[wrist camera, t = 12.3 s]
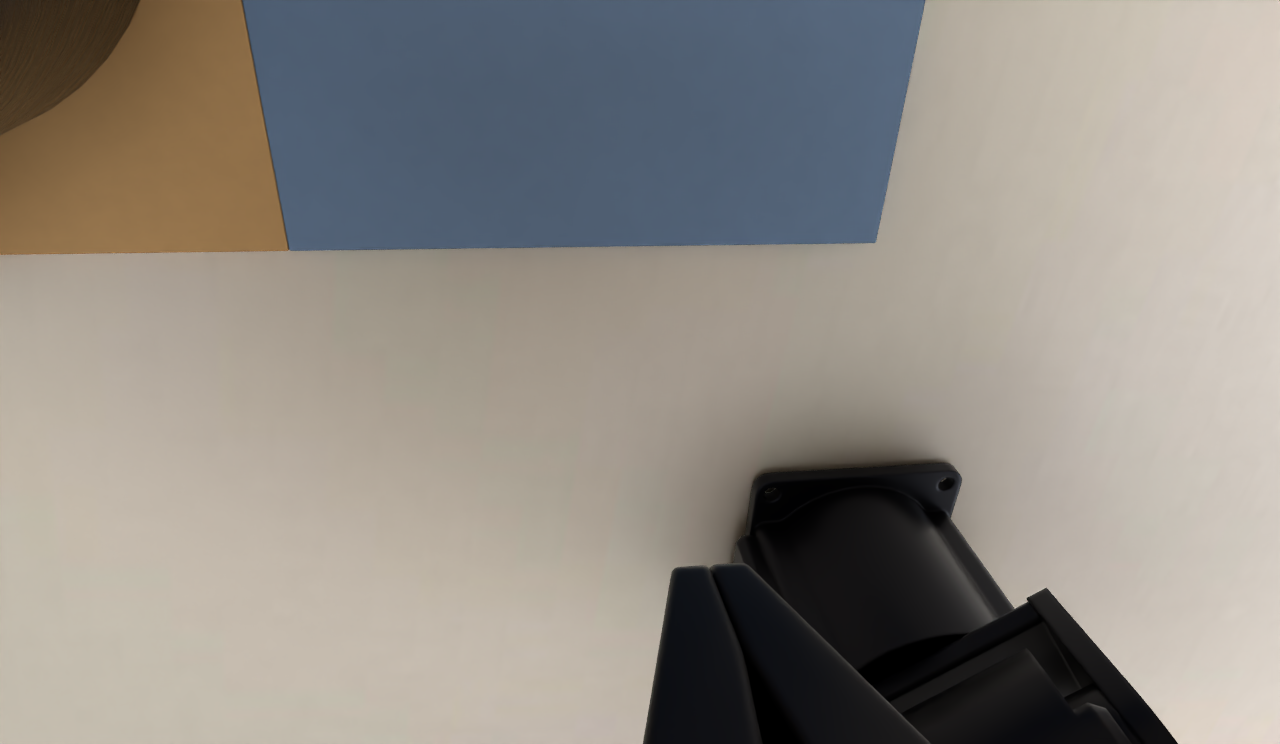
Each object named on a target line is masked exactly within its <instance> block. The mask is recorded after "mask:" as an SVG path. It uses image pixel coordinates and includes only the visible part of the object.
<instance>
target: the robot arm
mask: <svg viewBox="0 0 1280 744" xmlns="http://www.w3.org/2000/svg"><path fill="white" fill-rule="evenodd" d="M944 478H946V479H945V480H944V481H942V482H940V481H941V480H942V479H944ZM961 481H962V478H961V476H960V474H959V473H958V471H957V470H956V469H955V468H954V466H952V465H951V464H948V463H935V464H917V465H899V466H882V467H864V468H846V469H829V470H811V471H794V472H776V473H767V474H763V475H762V476H760V477H758V478H757V479H756V480H755V481H754V483H753V486H752V490H751V497H750V504H749V511H748V518H747V525H746V531H745V536H741V537H740V538H739V540H738V541H737V542H736V546H735V553H734V560H733V563H730V564H716V565H713V566H712V567H710V569H709V568H708V567H706V566H689V567H677V568H675V569H674V570H673V571H672V574H671V579H670V585H669V591H668V597H667V603H666V609H665V615H664V621H663V627H662V633H661V639H660V645H659V651H658V657H657V663H656V669H655V675H654V681H653V687H652V693H651V699H650V705H649V711H648V717H647V723H646V729H645V735H644V741H643V744H1178V743H1177V742H1176V740H1175V739H1174V738H1173V736H1172V735H1171V734H1170V732H1169V731H1168V730H1167V729H1166V727H1165V726H1164V725H1163V723H1162V722H1161V721H1160V720H1159V718H1158V717H1157V716H1156V715H1155V713H1154V712H1153V711H1152V710H1151V708H1150V707H1149V706H1148V705H1147V703H1146V702H1145V701H1144V700H1143V699H1142V698H1141V696H1140V695H1139V694H1138V693H1137V692H1136V690H1135V689H1134V688H1133V687H1132V686H1131V685H1130V683H1129V682H1128V681H1127V680H1126V679H1125V678H1124V677H1123V675H1122V674H1121V673H1120V672H1119V671H1118V670H1117V668H1116V667H1115V666H1114V665H1113V664H1112V663H1111V662H1110V660H1109V659H1108V658H1107V657H1106V656H1105V655H1104V654H1103V652H1102V651H1101V650H1100V649H1099V648H1098V647H1097V645H1096V644H1095V643H1094V642H1093V641H1092V640H1091V639H1090V637H1089V636H1088V635H1087V634H1086V633H1085V632H1084V630H1083V629H1082V628H1081V627H1080V626H1079V625H1078V624H1077V622H1076V621H1075V620H1074V619H1073V618H1072V617H1071V615H1070V614H1069V613H1068V612H1067V611H1066V610H1065V609H1064V607H1063V606H1062V605H1061V604H1060V603H1059V602H1058V601H1057V599H1056V598H1055V597H1054V596H1053V595H1052V594H1051V592H1050V591H1049V590H1048V589H1047V588H1045V589H1043V590H1041V591H1039V592H1037V593H1036V594H1034V595H1032V596H1030V597H1028V598H1027V600H1028V602H1027V603H1025V604H1023V605H1021V606H1019V607H1018V608H1016V609H1014V607H1013V606H1012V604H1011V603H1010V602H1009V600H1008V599H1007V597H1006V596H1005V595H1004V593H1003V592H1002V590H1001V589H1000V588H999V586H998V585H997V583H996V582H995V581H994V579H993V578H992V576H991V575H990V574H989V572H988V571H987V569H986V568H985V567H984V565H983V564H982V562H981V561H980V560H979V558H978V557H977V555H976V554H975V553H974V551H973V550H972V548H971V547H970V546H969V544H968V543H967V541H966V540H965V539H964V537H963V536H962V534H961V533H960V532H959V530H958V529H957V527H956V526H955V524H954V523H953V522H952V520H951V519H950V518H951V515H952V512H953V508H954V505H955V502H956V499H957V496H958V492H959V489H960V486H961ZM770 488H775V489H774V490H773V491H772V492H769V493H765V491H767V490H768V489H770Z"/></svg>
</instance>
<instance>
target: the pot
mask: <svg viewBox="0 0 1280 744" xmlns="http://www.w3.org/2000/svg"><path fill="white" fill-rule="evenodd" d="M139 2H140V0H0V135H2V134H4V133H6V132H8V131H10V130H12V129H14V128H16V127H18V126H20V125H22V124H24V123H26V122H28V121H30V120H32V119H34V118H36V117H38V116H40V115H41V114H43V113H45V112H47V111H49V110H51V109H52V108H54V107H55V106H56V105H58V104H59V103H60V102H62V101H63V100H64V99H66V98H67V97H68V96H70V95H71V94H72V93H74V92H75V91H76V90H78V89H79V88H80V87H81V86H82V85H83V84H84V83H85V82H86V81H87V80H88V79H89V78H90V77H91V76H92V75H93V74H94V73H95V71H96V70H97V69H98V68H99V67H100V66H101V65H102V64H103V63H104V62H105V61H106V60H107V59H108V57H109V56H110V54H111V53H112V51H113V50H114V48H115V47H116V45H117V43H118V42H119V40H120V39H121V37H122V36H123V34H124V33H125V31H126V30H127V28H128V27H129V25H130V23H131V20H132V18H133V16H134V13H135V11H136V9H137V7H138V4H139Z"/></svg>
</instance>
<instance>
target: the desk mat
mask: <svg viewBox="0 0 1280 744" xmlns="http://www.w3.org/2000/svg"><path fill="white" fill-rule="evenodd" d="M924 4H925V0H140V2H139V4H138V7H137V9H136V11H135V13H134V16H133V18H132V20H131V23H130V25H129V27H128V28H127V30H126V31H125V33H124V34H123V36H122V37H121V39H120V40H119V42H118V43H117V45H116V47H115V48H114V50H113V51H112V53H111V54H110V56H109V57H108V59H107V60H106V61H105V62H104V63H103V64H102V65H101V66H100V67H99V68H98V69H97V70H96V71H95V73H94V74H93V75H92V76H91V77H90V78H89V79H88V80H87V81H86V82H85V83H84V84H83V85H82V86H81V87H80V88H79V89H78V90H76V91H75V92H74V93H72V94H71V95H70V96H68V97H67V98H66V99H64V100H63V101H62V102H60V103H59V104H58V105H56V106H55V107H54V108H52V109H51V110H49V111H47V112H45V113H43V114H41V115H40V116H38V117H36V118H34V119H32V120H30V121H28V122H26V123H24V124H22V125H20V126H18V127H16V128H14V129H12V130H10V131H8V132H6V133H4V134H2V135H0V255H12V254H86V253H161V252H236V251H288V250H290V251H311V250H386V249H461V248H536V247H610V246H685V245H760V244H835V243H875V242H876V239H877V234H878V229H879V224H880V219H881V214H882V209H883V205H884V200H885V195H886V190H887V185H888V180H889V175H890V170H891V166H892V161H893V156H894V151H895V146H896V141H897V136H898V131H899V126H900V122H901V117H902V112H903V107H904V102H905V97H906V92H907V87H908V82H909V78H910V73H911V68H912V63H913V58H914V53H915V48H916V43H917V39H918V34H919V29H920V24H921V19H922V14H923V9H924Z"/></svg>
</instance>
